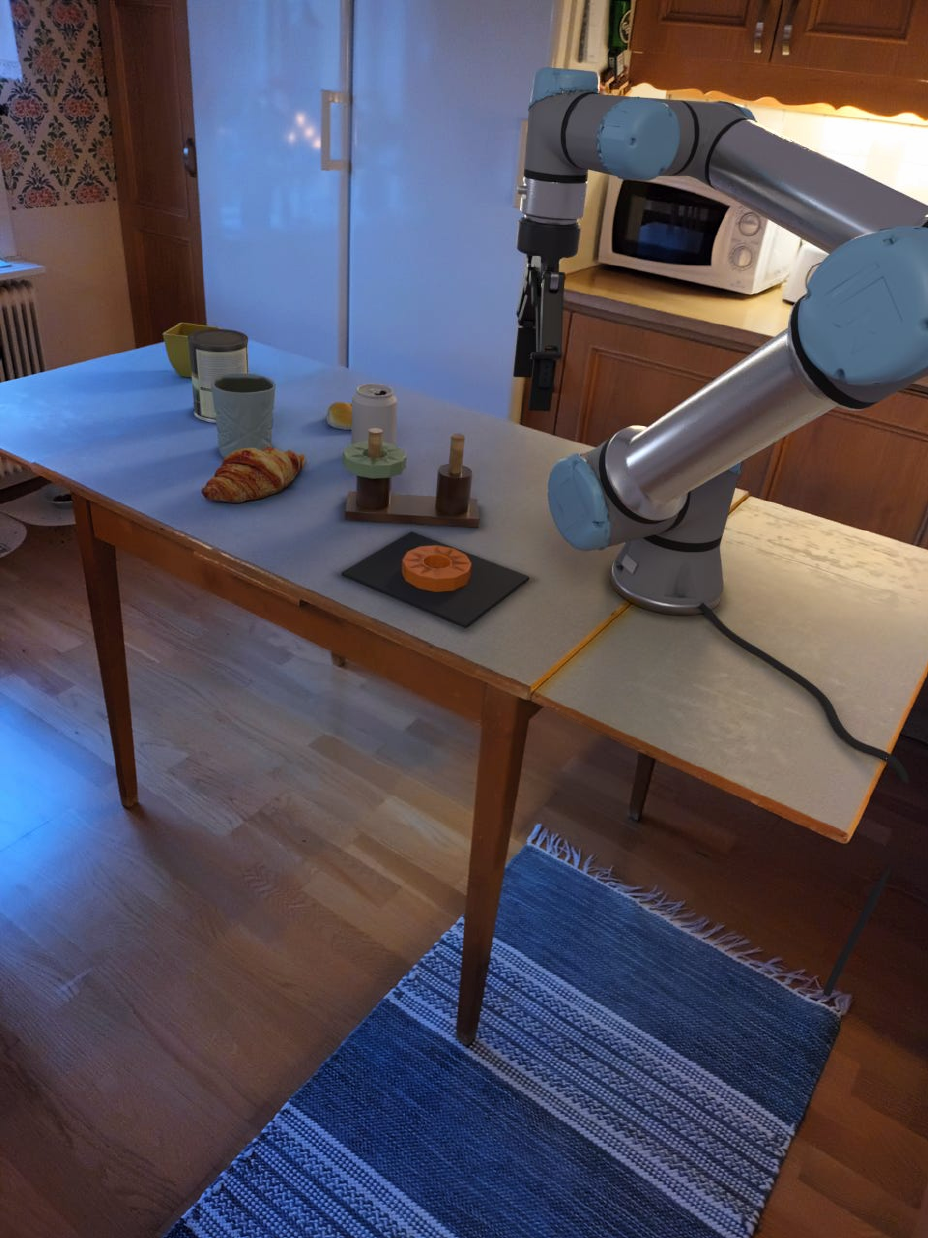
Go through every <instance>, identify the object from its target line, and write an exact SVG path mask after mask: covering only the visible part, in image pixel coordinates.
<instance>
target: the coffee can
mask: <svg viewBox="0 0 928 1238" xmlns="http://www.w3.org/2000/svg"><path fill="white" fill-rule="evenodd" d="M188 342H189V351H190V362H191V374H192V378H191V385H192V397H193V409H194V411H193V414H194V417H196V418H197V419H198V420H201V421H203V422H207V423H211V424H216V419H215V417H216V412H215V409H214V402H213V395H212V389H211V381H212V380H213V379H214V378H216V377H218V376H222V375H226V374H250V370H249V369H250V368H249V367H250V366H249V347H248V345H249V344H248V343H249V337H248V335H247V334H245V333H244V332H242V331H238V330H235V329H228V328H221V329H205V330H199V331H195V332H193V333H191V334H189V335H188Z"/></svg>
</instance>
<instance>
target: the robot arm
mask: <svg viewBox="0 0 928 1238" xmlns="http://www.w3.org/2000/svg"><path fill="white" fill-rule="evenodd" d="M600 84H601V78H600V75H599V74H598V73H597V72H596V71H594V70H593V71H592V70H586V69H585V70H584V69H576V68H575V69H574V68H564V67H563V68H562V67H549V66H546V67H545V66H543V67H541V68H539V69H538V70H537V71H536V72H535V74H534V76H533V80H532V87H531V95H530V101H529V104H528V106H527V111H528V117H527V127H526V128H527V129H526V138H525V139H526V141H525V152H524V163H523V165H524V166H523V178H522V182H523V184H522V185H518V186H517V187H516V193H517V195H519V196H520V195H521V198H520V207H519V208H520V209H519V210H520V212H521V214H522V215H524V216H522V217H521V218H520V219H519V220H518V225H517V234H516V244H515V245H516V249H517V251H518V252H520V253H522V254H523V255H525V257H526V260H525V268H524V272H523V273H524V274H523V279H522V284H521V287H520V288H521V289H520V295H519V300H518V303H517V304H518V305H517V308H516V312H515V315H516V318H517V324H518V327H517V334H516V335H517V337H516V345H515V354H514V362H513V363H514V364H513V374H512V376H513V378H528V379H529V378H531V379H530V386H529V396H528V403H527V404H528V405H527V410H528V411H530V412H531V411H532V412H551V407H552V399H553V392H554V391H553V390H554V383H555V376H556V368H557V362H558V360H561V359H562V356H563V352H562V351H563V323H564V322H563V321H564V320H563V319H564V292H565V284H566V280H567V279H566V278H567V275H566V272H565V271H560V261H561V260H562V259H571V258H574V257H575V256H577V254H578V252H579V247H580V239H581V231H582V225H581V224H580V222H578V221H579V220H581V219H582V218H583V217H584V211H585V203H586V197H587V191H588V190H587V188H588V179H589V171H592V172H597V173H601V174H605V175H608V176H613V177H617V179H620V180H623V181H628V180H629V181H630V180H632V181H641V182H648V181H652V180H655V179H656V178H659V177H690V178H694V179H696V180H697V181H699V182H701V183H702V184H704V185H706V186H708V187H710V188H711V189H713V190H715V191H718V192H719V193H721V194H723V195H724V196H727V197H728V198H730V199H732V200H733V201H735V202H736V203H739V204H741V205H742V206H744V207H746V208H747V209H749V210H751V211H753V212H754V213H756V214H758V215H760V216H761V217H763V218H765V219H767V220H768V221H770V222H772V223H773V224H776V225H777V226H779V227H781V228H782V229H784V230H786V231H788V232H790V233H791V234H793V235H795V236H797V237H798V238H800V239H801V240H803V241H805V242H807V243H808V244H811V245H812V246H814V247H816V248H817V249H819V250H821V251H823V252H824V253H826V254H828V255H827V256H826V257H825V258H824V259H823V260H822V261H821V262H820V264H819V265H818V266H817V267H816V269H815V270H814V271H813V272H812V274H811V276H810V277H809V279H808V282H807V283H806V285H805V287H806V289H807V291H806V292H805V294H803V295H802V296H801V297H799V298H798V299H797V300H796V301H795V302H794V304H793V305H792V306H791V309H790V311H789V315H788V320H787V327H786V328H785V329H783V330H782V331H780V332H779V333H777V334H776V335H775V336H773V337H772V338H771V339H769V340H768V341H766V342H765V343H764V344H762V345H761V346H760V347H758V348H757V349H755V350H754V351H752V352H751V353H750V354H748V355H747V356H745V357H744V358H743V359H741V360H740V361H739V362H737V363H736V364H734V365H733V366H731V367H730V368H728V369H727V370H726V371H724V372H723V373H722V374H720V375H718V376H717V377H716V378H715V379H713V380H711V381H710V382H709V383H707V384H706V385H705V386H703V387H702V388H701V389H699V390H697V392H695V393H694V394H692V395H691V396H689V397H687V398H686V399H685V400H683V401H682V402H681V403H679V404H678V405H676V406H675V407H674V408H672V409H671V410H670V411H668V412H667V413H665V414H664V415H662V416H661V417H660V418H658V419H657V420H655V421H654V422H653V423H651V424H650V425H648V426H643V425H630V426H627V427H624V428H622V429H620V430H619V431H617V432H616V433H615V434H613V435H612V436H611V437H609V438H608V439H606V440H605V441H603V442H602V443H601V444H599V445H598V446H597V447H595V448H593V449H590V450H589V451H586V452H583V453H578V452H576V453H574V452H572V453H571V454H569V455H568V456H565V457H562V458H561V459H559V460H558V461H557V462H555V464H554V465H553V467H552V468H551V471H550V473H549V477H548V482H547V488H548V491H547V501H548V502H547V503H548V506H549V511H550V515H551V518H552V520H553V523H554V525H555V527H556V529H557V532H558V533H559V534H560V536H561V538H563V540H564V541H565V542H566V543H568V544H569V545H570V546H571V547H572V548H574V549H575V550H577V551H581V552H592V551H603V550H606V549H607V548H610V547H613V546H617V545H621V544H623V546H622V547H621V549H620V551H619V552H618V554H617V556H616V557H615V559H614V562H613V563H612V567H611V572H610V584H611V586H612V588H613V590H615V592H616V593H617V594H618V595H619V596H621V597H622V598H623V599H624V600H625V601H627V602H630V603H631V604H632V605H635V606H637V607H638V608H639V607H640V608H642V609H644V610H646V611H647V610H648V611H650V612H654V613H658V614H661V615H662V614H663V615H669V616H695V615H696V616H697V615H701V614H704V615H705V617H707V618H708V619H709V620H710V622H711V623H712V624H713V625H714V626H715V628H717V629H718V631H720V632H721V633H722V634H723V635H724V636H725V637H727V639H729V640H731V641H732V642H733V643H734V644H736V645H738V646H739V647H741V648H742V649H743V650H746V651H747V652H748V653H750V654H753V655H754V656H756V657H757V658H759V659H761V660H762V661H764V662H765V663H767V664H769V666H771V667H773V668H774V669H776V670H778V671H779V672H781V673H782V674H783V675H785V676H787V677H789V678H790V679H791V680H793V681H794V682H796V683H797V684H799V685H800V686H802V687H803V688H805V689H806V690H807V691H808V692H809V693H810V694H812V696H814V697H815V698H816V700H817V701H818V702H819V703H820V705H821V706H822V707H823V709H824V711H825V714H827V718H828V719H829V722H830V724H831V726H832V728H833V730H834V731H835V732H836V734H837V735H838V736H839V737H840V739H842V740H843V741H844V742H845V743H846V744H847V745H849V746H850V747H852V748H853V749H855V750H857V751H859V752H861V753H864V754H867V755H869V756H871V757H875V758H876V759H877V758H878V759H880V760H881V761H883V762H885V763H887V764H888V765H889V766H890V768H892V769H893V770H894V772H895V773H896V775H897V777H898V779H899V781H901V782H902V783H904V784H910V783H911V780H910V777H909V775H908V772H907V770H906V769H905V767H904V765H903V764H902V763H901V762H900V761H899V760H898V758H896V757H895V756H893V755H892V754H891V753H889V752H887V751H885V750H883V749H880V748H878V747H875V746H873V745H871V744H867V743H864V742H862V741H860V740H858V739H857V738H855V737H854V736H852V734H850V733H849V732H848V730H846V728H845V727H844V725H843V723H841V720H840V718H839V716H838V714H837V712H836V709H835V707H834V705H833V704H832V702H831V701H830V699H829V698H828V697H827V696H826V695H825V693H824V692H822V690H820V689H819V688H818V687H817V686H816V685H815V684H813V683H812V682H811V681H810V680H808V679H807V678H805V677H804V676H802V675H801V674H799V673H798V672H796V671H795V670H793V669H792V668H790V667H788V666H787V665H785V664H784V663H782V662H781V661H779V660H778V659H776V658H775V657H773V656H772V655H770V654H769V653H767V652H765V651H764V650H762V649H761V648H758V647H757V646H756V645H753V644H752V643H750V642H748V641H747V640H745V639H743V638H742V637H740V636H739V635H737V634H736V633H735V632H733V631H732V630H731V629H730V628H729V627H727V626H726V625H725V623H724V622H722V620H721V619H720V618H719V617H718V616H717V615H716V613H714V612H713V609H715V608H716V607H717V606H718V605H719V604H720V601H721V598H722V595H723V591H724V577H723V574H724V573H723V564H722V554H721V544H722V540H723V536H724V532H725V530H726V525H727V521H728V517H729V514H730V510H731V506H732V503H733V499H734V495H735V492H736V487H737V484H738V479H739V477H740V475H741V474H742V469H741V467H742V463H743V461H745V460H746V459H748V458H750V457H752V456H753V455H755V454H757V453H759V452H760V451H762V450H764V449H765V448H767V447H769V446H771V445H773V444H774V443H776V442H778V441H780V440H781V439H783V438H785V437H786V436H788V435H790V434H792V433H793V432H795V431H797V430H798V429H800V428H802V427H804V426H805V425H807V424H809V423H811V422H812V421H814V420H816V419H818V418H819V417H820V416H823V415H824V414H826V413H827V412H829V411H831V410H833V409H834V408H837V407H838V408H840V409H842V410H847V411H851V412H852V411H854V412H857V411H863V410H867V409H868V408H870V407H872V406H874V405H876V404H878V403H879V402H881V401H883V400H885V399H886V398H888V397H890V396H893V395H894V394H896V393H898V392H900V391H901V390H903V389H905V388H907V387H908V386H910V385H912V384H914V383H916V382H918V381H919V380H922V379H924V378H925V377H928V204H926V203H924V202H921V201H920V200H918V199H915V198H913V197H911V196H909V195H907V194H905V193H903V192H901V191H898V189H895V188H893V187H891V186H889V185H887V184H885V183H883V182H880V181H878V180H877V179H874V178H872V177H870V176H868V175H866V174H864V173H861V172H859V171H858V170H855V169H854V168H851V167H850V166H847V165H846V164H843V163H841V162H839V161H837V160H835V159H833V158H831V157H828V156H826V155H825V154H824V153H823V154H822V153H820V152H819V151H816V150H815V149H812V148H810V147H808V146H806V145H804V144H802V143H799V142H798V141H796V140H793V139H792V138H789V137H788V136H785V135H783V134H781V133H779V132H777V131H775V130H773V129H771V128H769V127H767V126H765V125H763V124H761V123H758V121H757V119H756V117H755V116H754V114H753V112H752V110H750V109H749V108H748V107H747V106H744V105H743V104H739V103H733V102H730V101H726V100H713V101H709V100H689V99H688V100H687V99H670V98H658V97H657V98H656V97H644V96H643V97H642V96H629V95H618V94H617V95H616V94H604V93H601V90H600V87H601V86H600ZM886 758H887V759H886ZM891 867H892V864H890V865H889V866H888V868H887V869H886V871H885V872H884V873H883V874H882V876H881V877H880V878H879V880H878V881H877V882H876V884H875V885H874V887H873V888H872V889H871V891H870V892H869V895H868V896H867V900H866V901H865V904H864V905H863V908H862V910H861V912H860V915H859V917H858V918H857V920H856V922H855V924H854V927H853V928H852V930H851V932H850V934H849V936H848V938H847V940H846V942H845V944H844V946H843V948H842V950H841V952H840V953H839V956H838V958H837V960H836V962H835V964H834V966H833V968H832V970H831V972H830V975H829V976H828V979H827V981H826V984H825V986H824V988H823V991H822V994H823V995H824V996H825V997H828V998H830V997H831V996H832V994H833V991H834V989H835V987H836V985H837V982H838V980H839V978H840V976H841V974H842V972H843V970H844V968H845V966H846V963H847V962H848V960H849V958H850V956H851V954H852V952H853V950H854V948H855V946H856V944H857V942H858V941H859V939H860V937H861V935H862V933H863V932H864V930H865V927H866V925H867V923H868V921H869V919H870V917H871V915H872V913H873V911H874V909H875V907H876V905H877V902H878V900H879V898H880V895H881V893H882V891H883V888H884V886H885V883H886V880H887V879H888V876H889V873H890V869H891Z"/></svg>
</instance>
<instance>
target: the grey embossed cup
mask: <svg viewBox="0 0 928 1238" xmlns="http://www.w3.org/2000/svg"><path fill="white" fill-rule="evenodd" d="M211 389H212V395H213V402H214V409H215V412H216V417H215V419H216V423H215V426H216V431H217V443H218V451H219V455H220V456H221V457H223V459H225V457H227V456H228V455H230V454H231V453H232V452H233V451H236V450H239V449H244V448H256V449H259V450H261V451H262V450H263V449H264V448H266V447H272V443H273V441H272V439H273V438H272V436H273V435H272V432H273V431H272V430H273V425H274V424H273V423H274V409H275V406H274V404H275V397H276V396H275V395H276V383H275V381H274V380H272V378H269V377H267V376H264V375H260V374H255V373H253V374H252V373H249V374H226V375H222V376H218V377H216V378H214V379H213V380H212V381H211Z"/></svg>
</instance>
